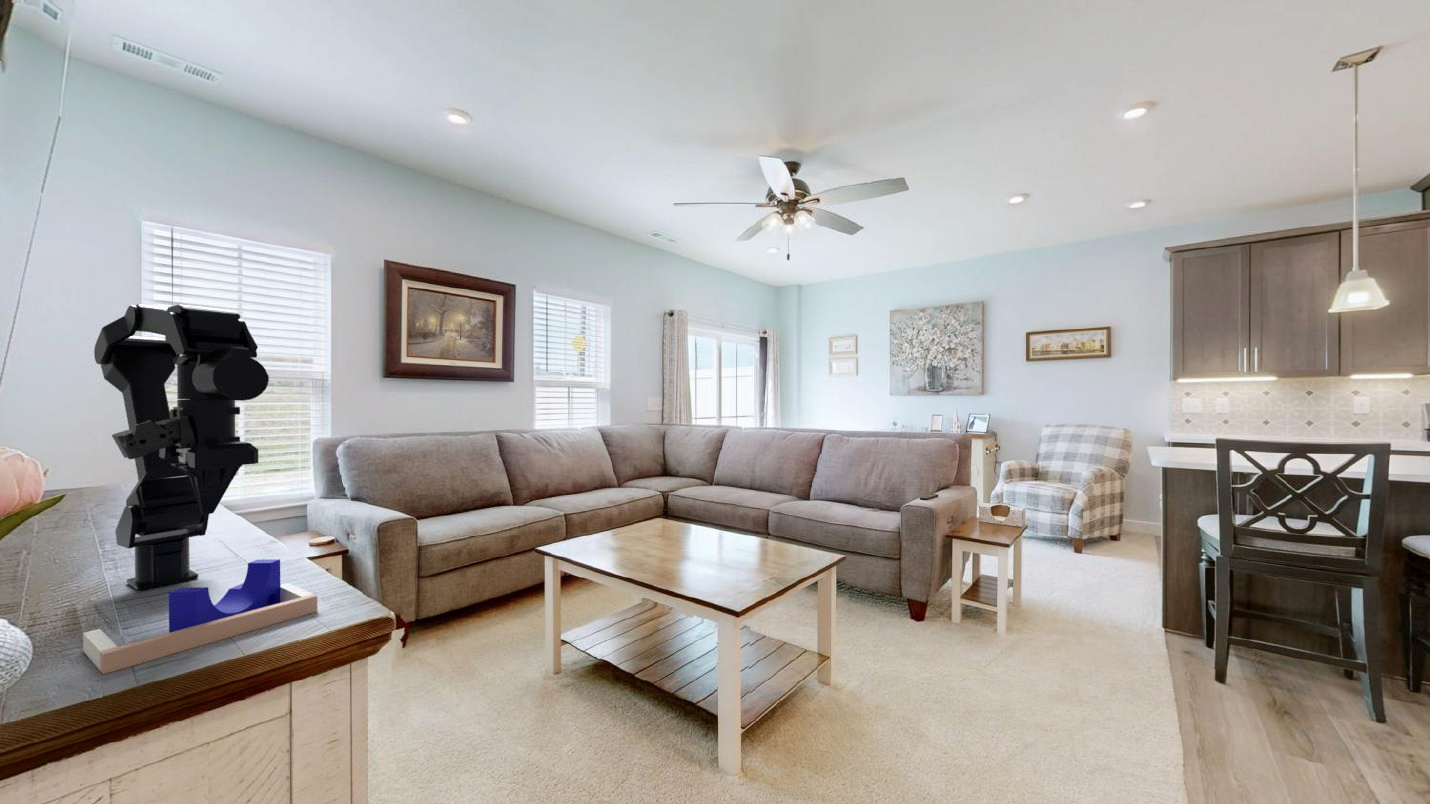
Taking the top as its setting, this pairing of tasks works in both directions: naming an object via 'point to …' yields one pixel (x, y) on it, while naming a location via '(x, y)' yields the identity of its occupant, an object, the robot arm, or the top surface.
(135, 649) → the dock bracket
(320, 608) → the top surface
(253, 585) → the blue half clamp
